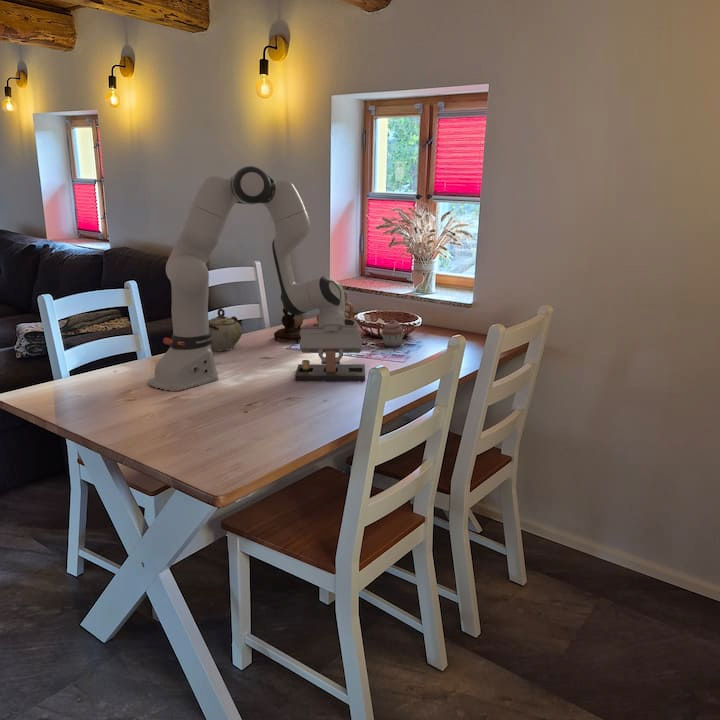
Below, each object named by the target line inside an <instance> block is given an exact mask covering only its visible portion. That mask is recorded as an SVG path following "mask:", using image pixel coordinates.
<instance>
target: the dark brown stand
mask: <svg viewBox="0 0 720 720" xmlns="http://www.w3.org/2000/svg"><path fill="white" fill-rule="evenodd" d="M280 300H281V301H282V295H281V294H280ZM282 313H283V316H282V318H281V323H282V325H283V327H284V328H280V329H277V330H276V331H275V332H274V333H273V337H274V339H275V341H278V340H281V341H295V343H296V344H299V341H300V340H301V337H300V330H301V329H302V328H303V327H301V326H302V325H303V322H304V313H303V314H301V315H298V316H295V315H293V314H291V313H289V312H288V311H287V310H285V308H284V307H283V309H282Z"/></svg>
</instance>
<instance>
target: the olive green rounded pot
mask: <svg viewBox="0 0 720 720" xmlns="http://www.w3.org/2000/svg"><path fill="white" fill-rule="evenodd" d="M221 312H222V313H221ZM217 315H218V316H216V317H214V318H213V317H212V318H211V319H209V331H210V332H211V337H212V338H211V340H212V343H211V350H212V349H213V350H212V351H216V350H227V349H231V348H233V349H234V348H235V346H236V345H237V344H238V342H239V340H240V339H241V337H242V335H243V329H242V326H241V325H240V323H239V321H238V317H236V316H234V315H233V316H231V317H229V316H228V317H227V316H225V310H224V309H223V308H218V310H217ZM231 350H232V349H231ZM227 351H228V350H227Z"/></svg>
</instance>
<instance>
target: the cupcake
mask: <svg viewBox="0 0 720 720" xmlns="http://www.w3.org/2000/svg"><path fill="white" fill-rule="evenodd" d="M403 329H404V328H403V326H402V325H400V323H399V322H398V320H395V319H391V320H390V321H389V322H387V323H385V324H384V326H383V328H382V331H381V332H380V335H381V337H382V340H383V344H384V346H386V347H389V348H390V347H392V348H393V347H394V348H395V347H400V346H401V345H402V342H403V338H404V337H405V332H404V331H403Z"/></svg>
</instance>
